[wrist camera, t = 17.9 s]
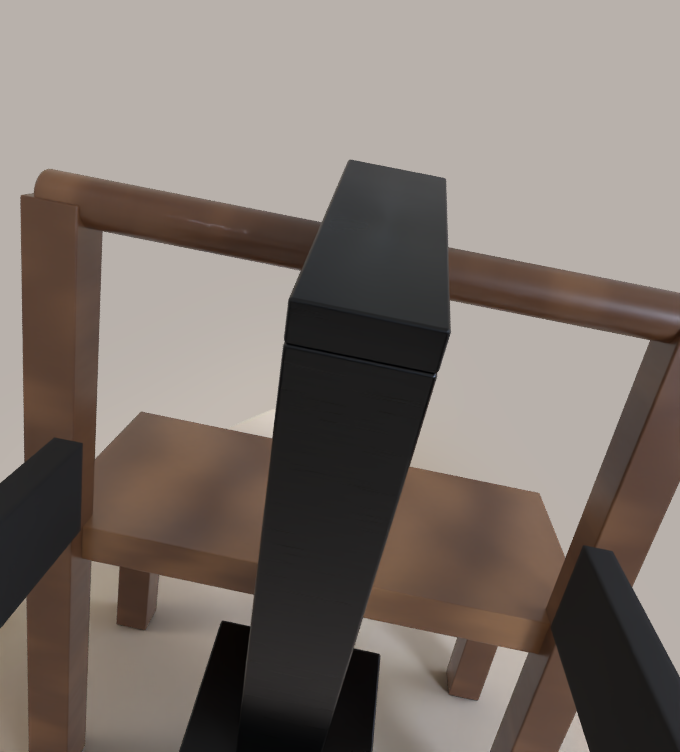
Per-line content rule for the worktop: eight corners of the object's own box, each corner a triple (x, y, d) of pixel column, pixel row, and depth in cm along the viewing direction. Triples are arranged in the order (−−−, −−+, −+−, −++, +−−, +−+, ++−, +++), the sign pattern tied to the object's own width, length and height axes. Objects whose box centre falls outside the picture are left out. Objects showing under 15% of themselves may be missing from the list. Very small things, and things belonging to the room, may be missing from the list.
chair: (28, 772, 25) (19, 167, 16) (128, 603, 34) (156, 159, 25) (503, 876, 24) (756, 312, 16) (474, 676, 33) (624, 250, 25)
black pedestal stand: (359, 859, 21) (584, 424, 9) (161, 816, 21) (134, 332, 9) (383, 587, 30) (512, 190, 18) (244, 558, 30) (283, 145, 18)
